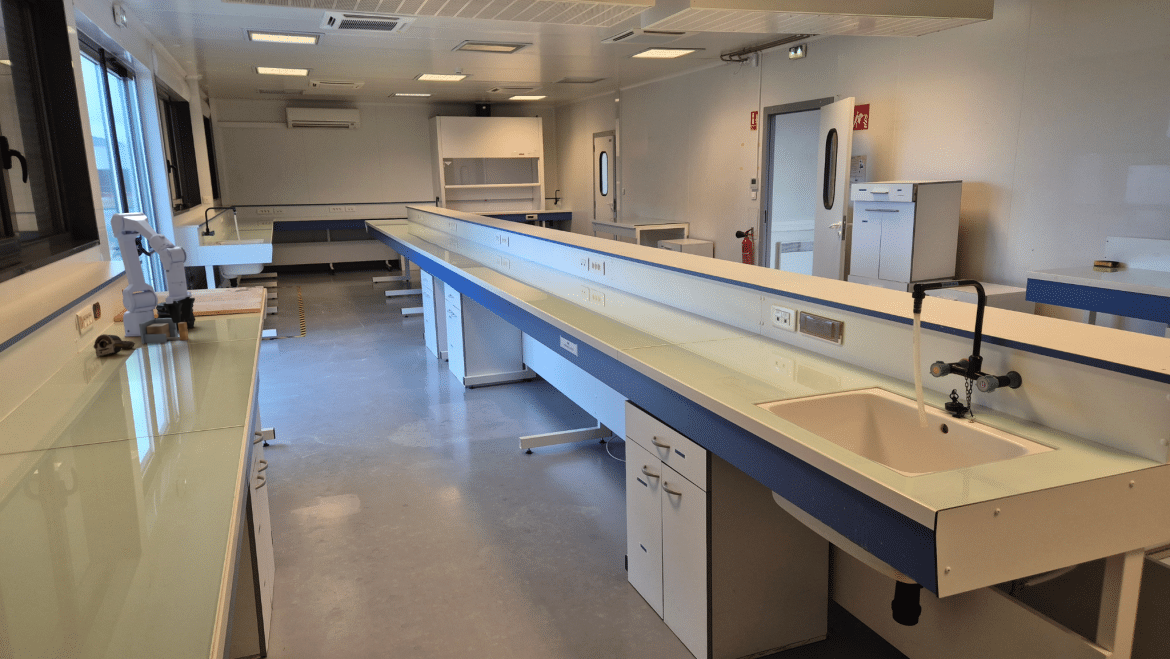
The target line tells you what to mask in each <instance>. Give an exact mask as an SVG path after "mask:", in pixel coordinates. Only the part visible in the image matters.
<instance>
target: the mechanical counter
mask: <svg viewBox="0 0 1170 659" xmlns="http://www.w3.org/2000/svg"><path fill="white" fill-rule="evenodd" d="M134 346H135V342H134V341H131V340H122V338H121V337H120V336H118V335H116V334H100V335H99V336H97V337H96V339H95V341H94V344H93V349H95V354H96V355H95V356H96V357H101V356H105V355H117V354H118V353H120V352H121V351H122V350H132V349H133V348H134Z"/></svg>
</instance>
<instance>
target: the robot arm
mask: <svg viewBox="0 0 1170 659" xmlns="http://www.w3.org/2000/svg"><path fill="white" fill-rule="evenodd" d="M110 225H111V230H112V233H113V236H114V237H113V238H116V239H117V243H118V246H119V247H118V248H119V251H120V254H121V258H122V262H123V267H124V270H125V274H126V279H127V283H128V285H127V286H126V287H125V288H124V289H123V290H122V292H121V293H122V304H123V307H124V308H125V309H126V311H125V312H124V313H123V317H122V321H123V327H124V335H123V336H124V337H125V338H126V337H141V334H140V327H139V324H141V323H143V322H146V321H149V320H151V319H156V318H155V312H154V310H156V306H157V304H159V298H158V295H157V294H156V292H155V289H154V287H153V286H152V285H150V284H149V283H147V282H146V280H145V276H144V272H143V268H142V264H141V260H140V256H139V253H138V248H137V244H136V238H137V237H139V236H140V235H142V237H144V238H145V239H146V240H148V241H149V242H148V244H149V246H150V247H151V248H152V249H153V251H155V253H157V254H158V255H159V260H160V262H161V264H162V266H163V269H164V270H165V276H166V281H167V282H166V283H167V284H166V285H167V291H168V296H167V297H165V299H164V300H165V302H166V303H164V304H163V305H164V307H165V308H166V309H167V311H168V312H169V314H170V316H171V319H172V321H173V323H180V321H181V314H180V313H181V311H182V315H183V318H184V319H190V318H191V311H192V306H193V305H194V303H195V301H196V299H195V297H193V296H192V291H188V285H187V279H186V271H185V264H184V263H186V262H187V258H188V257H187V252H186V250H185V249H184V247H183V246H181V245H180V246H179V245H174V244H173V243H172V241H170V239H168V238H167V237H166V236H165V235H164V234H162V233H157V232H156V230H154V228H153V227H152V226H151V225H150V224H149V219H148V216H146V215H145V213H144V212H142V211H138V212H126V213H125V212H123V213H114V214H113V215H112V216H111V220H110ZM176 301H177V302H178V303H176ZM193 307H194V306H193Z"/></svg>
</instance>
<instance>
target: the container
mask: <svg viewBox="0 0 1170 659" xmlns="http://www.w3.org/2000/svg"><path fill="white" fill-rule="evenodd" d="M164 303H166V301H163V302H158V303H157V306H156V307H155V310H156V311H157V312H156V314H157V315H158V316H157V319H161V318H171V316H170V314H169V312H168V311H167V309H166V308H165V307H164V305H163V304H164ZM176 303H178V302H177V301H176ZM180 314H181V321H180V322H187V329H188V330H190V329H193V328H194V327H195V321H196V318H195V315H194V304H193V306H192V311H191V318H190V319H184V318H183V315H182V311H181V313H180ZM176 326H177V332H179V328H178V323H176Z"/></svg>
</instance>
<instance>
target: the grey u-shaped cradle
mask: <svg viewBox="0 0 1170 659" xmlns="http://www.w3.org/2000/svg"><path fill="white" fill-rule="evenodd" d="M163 323H168V324H169V331H170V337H179V336H178V334H179V333H178V331H177V326H176V323H173V321H172V319H171V318H161V319H158V318H155V319H151V320H149V321H146V322H143V323H141V324H139V327H140V334H141V336H140V339H141V344H142V345H144V344H165V343H168V340H167V337H166V334H147V326H149V325H152V324H163Z"/></svg>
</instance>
